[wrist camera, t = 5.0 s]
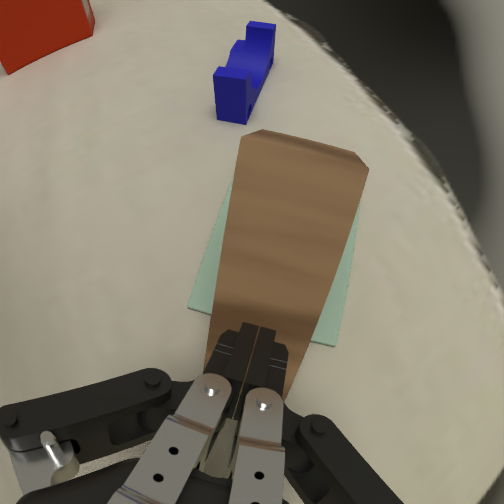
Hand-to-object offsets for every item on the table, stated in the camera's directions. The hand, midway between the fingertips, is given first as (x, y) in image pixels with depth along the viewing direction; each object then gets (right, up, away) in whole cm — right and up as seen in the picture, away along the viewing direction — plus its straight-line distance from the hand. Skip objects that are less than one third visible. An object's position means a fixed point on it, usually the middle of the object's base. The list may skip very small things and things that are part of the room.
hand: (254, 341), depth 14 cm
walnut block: (0, -3, +6) cm, 7 cm away
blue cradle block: (-1, +22, +19) cm, 29 cm away
